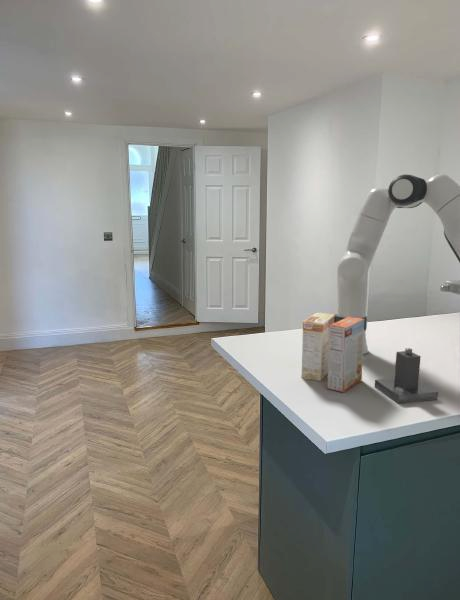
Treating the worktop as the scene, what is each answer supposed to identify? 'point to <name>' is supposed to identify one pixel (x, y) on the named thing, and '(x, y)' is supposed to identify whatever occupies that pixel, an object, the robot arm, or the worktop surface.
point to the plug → (407, 369)
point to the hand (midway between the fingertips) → (451, 291)
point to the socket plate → (406, 391)
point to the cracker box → (345, 353)
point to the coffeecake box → (316, 346)
